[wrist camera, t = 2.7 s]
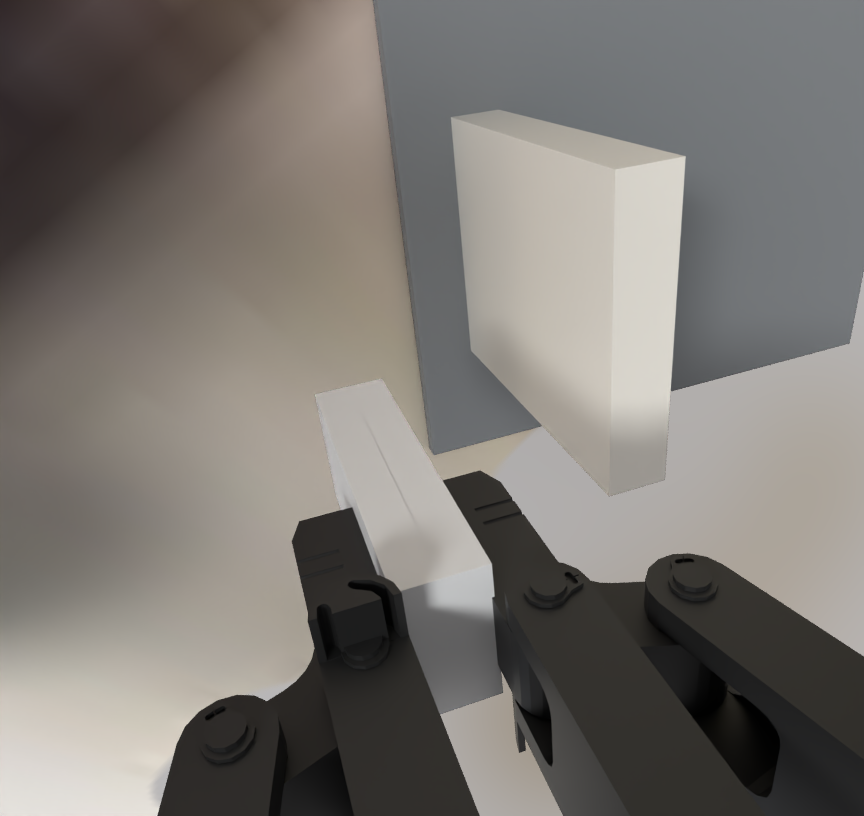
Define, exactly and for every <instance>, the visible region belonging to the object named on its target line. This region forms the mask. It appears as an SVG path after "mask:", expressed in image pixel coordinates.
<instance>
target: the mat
mask: <svg viewBox="0 0 864 816" xmlns="http://www.w3.org/2000/svg"><path fill="white" fill-rule="evenodd" d="M373 5H374V13H375V21H376V29H377V37H378V44H379V52H380V60H381V68H382V76H383V84H384V92H385V100H386V108H387V116H388V123H389V131H390V139H391V147H392V155H393V163H394V171H395V179H396V187H397V195H398V203H399V210H400V218H401V226H402V234H403V242H404V250H405V258H406V266H407V274H408V282H409V290H410V297H411V305H412V313H413V321H414V329H415V337H416V345H417V353H418V361H419V369H420V377H421V384H422V392H423V400H424V408H425V416H426V424H427V432H428V440H429V448H430V450H431V451H432V453H433V455H436V454H440V453H444V452H448V451H451V450H455V449H459V448H462V447H466V446H470V445H474V444H477V443H481V442H485V441H488V440H492V439H496V438H500V437H503V436H507V435H511V434H514V433H518V432H522V431H526V430H529V429H533V428H537V427H540V426H542V425H541V424H540V423H539V422H538V421H537V420H536V419H535V418H534V417H533V415H532V414H531V413H530V412H529V411H528V410H527V409H526V408H525V407H524V406H523V405H522V404H521V403H520V402H519V401H518V400H517V399H516V398H515V396H514V395H513V394H512V393H511V392H510V391H509V390H508V389H507V388H506V387H505V386H504V385H503V384H502V383H501V382H500V381H499V380H498V379H497V377H496V376H495V375H494V374H493V373H492V372H491V371H490V370H489V369H488V368H487V367H486V366H485V365H484V364H483V363H482V362H481V361H480V359H479V358H478V357H477V356H476V355H475V354H474V353H473V352H472V351H471V345H470V333H469V322H468V310H467V299H466V287H465V275H464V264H463V252H462V241H461V229H460V218H459V206H458V194H457V183H456V171H455V160H454V148H453V137H452V125H451V117H455V116H462V115H468V114H474V113H480V112H486V111H493V110H502V111H506V112H510V113H514V114H518V115H522V116H526V117H530V118H534V119H538V120H542V121H546V122H550V123H554V124H558V125H562V126H566V127H570V128H574V129H578V130H582V131H586V132H590V133H594V134H598V135H602V136H606V137H610V138H614V139H618V140H622V141H626V142H630V143H634V144H638V145H642V146H646V147H650V148H654V149H658V150H662V151H666V152H670V153H674V154H678V155H682V156H686V159H685V174H684V190H683V206H682V221H681V237H680V252H679V268H678V284H677V299H676V315H675V331H674V346H673V362H672V377H671V391H674V390H678V389H682V388H685V387H689V386H693V385H696V384H700V383H704V382H708V381H711V380H715V379H719V378H722V377H726V376H730V375H733V374H737V373H741V372H745V371H748V370H752V369H756V368H760V367H763V366H767V365H771V364H775V363H778V362H782V361H785V360H789V359H793V358H797V357H801V356H804V355H808V354H812V353H815V352H819V351H823V350H827V349H830V348H834V347H838V346H841V345H845V344H849V343H850V339H851V333H852V328H853V323H854V318H855V313H856V308H857V303H858V297H859V292H860V287H861V282H862V277H863V272H864V0H373Z"/></svg>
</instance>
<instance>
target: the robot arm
mask: <svg viewBox="0 0 864 816" xmlns="http://www.w3.org/2000/svg"><path fill="white" fill-rule="evenodd" d="M315 398H316V403H317V407H318V412H319V417H320V422H321V426H322V431H323V436H324V441H325V445H326V450H327V455H328V460H329V464H330V469H331V474H332V479H333V483H334V488H335V493H336V497H337V500H338V503H339V506H340V509H341V510H340V511H336V512H332V513H329V514H325V515H321V516H318V517H314V518H310V519H307V520H303V521H299V524H298V526H297V529H296V532H295V534H294V537H293V540H292V544H293V549H294V553H295V557H296V562H297V566H298V570H299V575H300V579H301V584H302V588H303V592H304V597H305V601H306V605H307V610H308V624H309V627H310V631H311V635H312V639H313V643H314V647H315V649H314V653H313V657H312V660H311V662H310V664H309V665H308V667H307V669H306V671H305V672H304V673H303V674H302V675H301V676H300V678H299V679H298V680H297V681H296V682H295V683H293V684H292V685H291V686H289V687H288V688H287V689H285V690H284V691H283V692H281V693H279V694H278V695H276V696H275V697H273V698H272V699H270V700H268V701H265V700H263V699H261V698H258V697H256V696H251V695H235V696H231V697H228V698H224V699H221V700H217V701H216V702H214V703H213V704H211V705H209V706H208V707H206V708H204V709H203V710H201V711H199V713H198V714H197V715H196V716H195V717H194V718H193V719H192V720H191V721H190V722H189V723H188V724H187V725H186V726H185V728H184V730H183V732H182V734H181V737H180V739H179V741H178V743H177V745H176V749H175V753H174V756H173V760H172V764H171V768H170V772H169V775H168V779H167V783H166V786H165V790H164V794H163V797H162V801H161V805H160V808H159V812H158V816H479V813H478V811H477V808H476V806H475V803H474V800H473V798H472V795H471V793H470V791H469V788H468V785H467V782H466V780H465V777H464V775H463V772H462V770H461V767H460V765H459V762H458V759H457V757H456V754H455V752H454V749H453V747H452V744H451V742H450V739H449V736H448V734H447V731H446V729H445V726H444V724H443V721H442V719H441V716H440V714H443V713H446V712H448V711H451V710H454V709H457V708H460V707H463V706H466V705H469V704H472V703H475V702H478V701H481V700H484V699H486V698H489V697H492V696H495V695H498V694H501V693H503V687H502V676H501V671H502V673H503V675H504V677H505V679H506V681H507V683H508V685H509V687H510V689H511V691H512V694H513V707H514V719H515V732H516V741H517V746H518V749H519V753H520V752H523V751H525V750H526V748H525V739H526V741H527V743H528V745H529V747H530V749H531V751H532V753H533V755H534V757H535V759H536V761H537V763H538V765H539V767H540V769H541V771H542V773H543V775H544V777H545V780H546V782H547V784H548V786H549V788H550V790H551V792H552V794H553V796H554V798H555V800H556V802H557V804H558V806H559V808H560V810H561V812H562V814H563V816H864V656H862V655H861V654H859V653H857V652H856V651H854V650H853V649H851V648H850V647H848V646H847V645H845V644H844V643H842V642H841V641H839V640H838V639H836V638H835V637H833V636H831V635H830V634H828V633H827V632H825V631H824V630H822V629H821V628H819V627H818V626H816V625H815V624H813V623H811V622H810V621H808V620H807V619H805V618H804V617H802V616H801V615H799V614H798V613H796V612H795V611H793V610H791V609H790V608H789V607H787V606H785V605H784V604H782V603H781V602H779V601H778V600H776V599H775V598H773V597H772V596H770V595H769V594H767V593H766V592H764V591H763V590H761V589H759V588H758V587H757V586H755V585H753V584H752V583H750V582H749V581H747V580H746V579H744V578H742V577H741V576H740V575H738V574H737V573H735V572H734V571H732V570H730V569H729V568H727V567H726V566H724V565H723V564H721V563H718V562H716V561H714V560H712V559H710V558H708V557H704V556H699V555H694V554H672V555H669V556H666V557H664V558H661V559H658V560H657V561H656V562H655V563H654V564H653V565H652V566H650V567H649V569H648V572H647V575H646V579H645V582H631V583H630V582H629V583H599V582H594V581H590V580H589V579H588V578H587V577H586V576H585V575H584V574H583V573H581V571H579V570H578V569H576V568H574V567H572V566H569V565H567V564H564V563H559V562H558V561H557V560H556V559H555V557H554V556H553V554H552V553H551V552H550V550H549V549H548V547H547V546H546V545H545V543H544V542H543V541H542V539H541V538H540V536H539V535H538V534H537V532H536V531H535V529H534V528H533V527H532V525H531V524H530V522H529V521H528V520H527V518H526V517H525V516H524V515H522V512H521V510H520V509H519V507H518V506H517V504H516V503H515V502H514V501H513V500H512V497H511V496H510V495H509V493H508V492H507V491H506V489H505V488H504V486H503V485H502V484H501V482H500V481H498V480H496V479H494V478H492V477H491V476H489V475H487V474H485V473H484V472H482V471H477V472H473V473H469V474H466V475H462V476H458V477H455V478H451V479H447V480H443V481H442V479H441V477H440V476H439V474H438V472H437V471H436V469H435V467H434V465H433V464H432V462H431V460H430V459H429V457H428V455H427V454H426V452H425V450H424V449H423V447H422V445H421V444H420V442H419V440H418V439H417V437H416V435H415V433H414V432H413V430H412V428H411V427H410V425H409V423H408V422H407V420H406V418H405V417H404V415H403V413H402V412H401V410H400V408H399V407H398V405H397V403H396V401H395V400H394V398H393V396H392V395H391V393H390V391H389V390H388V388H387V386H386V385H385V383H384V381H383V380H382V378H381V379H377V380H373V381H369V382H364V383H360V384H356V385H352V386H347V387H343V388H339V389H335V390H330V391H326V392H322V393H318V394H315Z"/></svg>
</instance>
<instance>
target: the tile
mask: <svg viewBox="0 0 864 816" xmlns="http://www.w3.org/2000/svg"><path fill="white" fill-rule="evenodd" d="M451 125H452V137H453V148H454V160H455V171H456V183H457V194H458V206H459V218H460V229H461V241H462V252H463V264H464V275H465V287H466V299H467V310H468V322H469V333H470V345H471V351H472V352H473V353H474V354H475V355H476V356H477V357H478V358H479V359H480V361H481V362H482V363H483V364H484V365H485V366H486V367H487V368H488V369H489V370H490V371H491V372H492V373H493V374H494V375H495V376H496V377H497V379H498V380H499V381H500V382H501V383H502V384H503V385H504V386H505V387H506V388H507V389H508V390H509V391H510V392H511V393H512V394H513V395H514V396H515V398H516V399H517V400H518V401H519V402H520V403H521V404H522V405H523V406H524V407H525V408H526V409H527V410H528V411H529V412H530V413H531V414H532V415H533V417H534V418H535V419H536V420H537V421H538V422H539V423H540V424H541V425H542V426H543V427H544V428H545V429H546V430H547V431H548V432H549V433H550V434H551V436H552V437H553V438H554V439H555V440H556V441H557V442H558V443H559V444H560V445H561V446H562V447H563V448H564V449H565V450H566V451H567V452H568V454H569V455H570V456H571V457H572V458H573V459H574V460H575V461H576V462H577V463H578V464H579V465H580V466H581V467H582V468H583V469H584V470H585V471H586V473H587V474H589V476H590V477H591V478H592V479H593V480H594V481H595V482H596V483H597V484H598V485H599V486H600V487H601V488H602V489H603V490H604V492H605V493H607V495H608V496H612V495H616V494H619V493H622V492H626V491H629V490H632V489H636V488H639V487H642V486H646V485H649V484H653V483H656V482H659V481H663V480H665V471H666V455H667V440H668V424H669V408H670V393H671V377H672V362H673V346H674V331H675V315H676V299H677V284H678V268H679V252H680V237H681V221H682V206H683V190H684V174H685V159H686V156H682V155H678V154H674V153H670V152H666V151H662V150H658V149H654V148H650V147H646V146H642V145H638V144H634V143H630V142H626V141H622V140H618V139H614V138H610V137H606V136H602V135H598V134H594V133H590V132H586V131H582V130H578V129H574V128H570V127H566V126H562V125H558V124H554V123H550V122H546V121H542V120H538V119H534V118H530V117H526V116H522V115H518V114H514V113H510V112H506V111H502V110H493V111H486V112H480V113H474V114H468V115H462V116H455V117H451Z"/></svg>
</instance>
